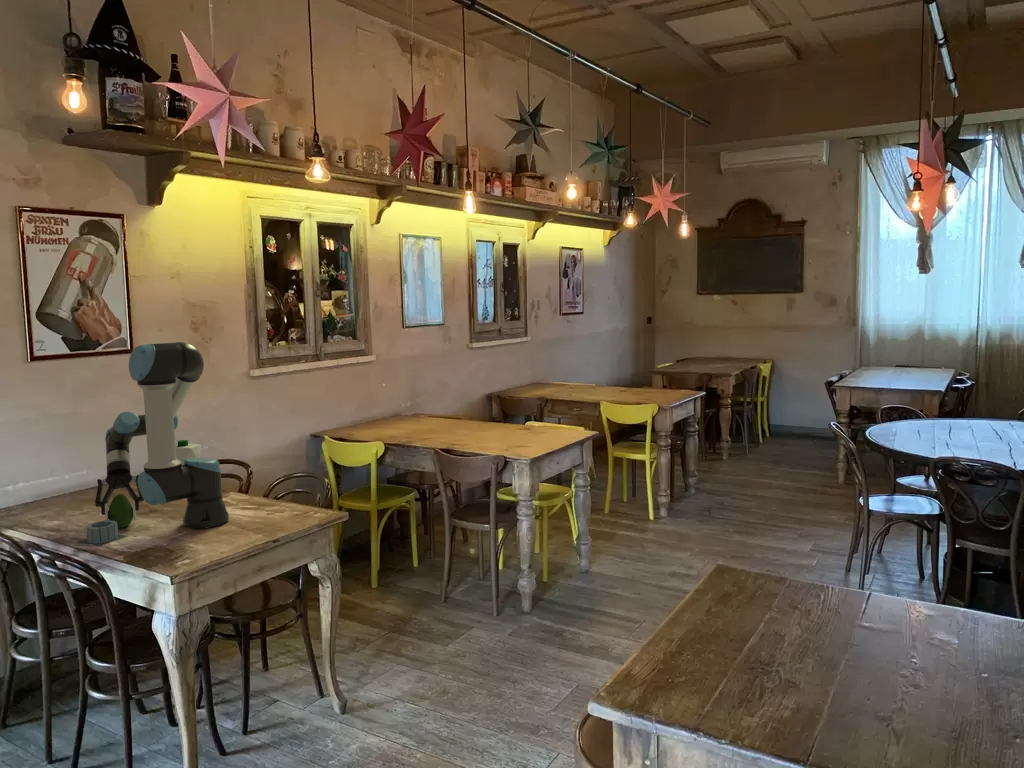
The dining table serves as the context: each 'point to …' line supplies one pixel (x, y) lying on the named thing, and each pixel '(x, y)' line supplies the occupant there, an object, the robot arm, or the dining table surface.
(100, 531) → the bowl
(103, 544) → the placemat
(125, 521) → the avocado
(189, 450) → the milk carton
